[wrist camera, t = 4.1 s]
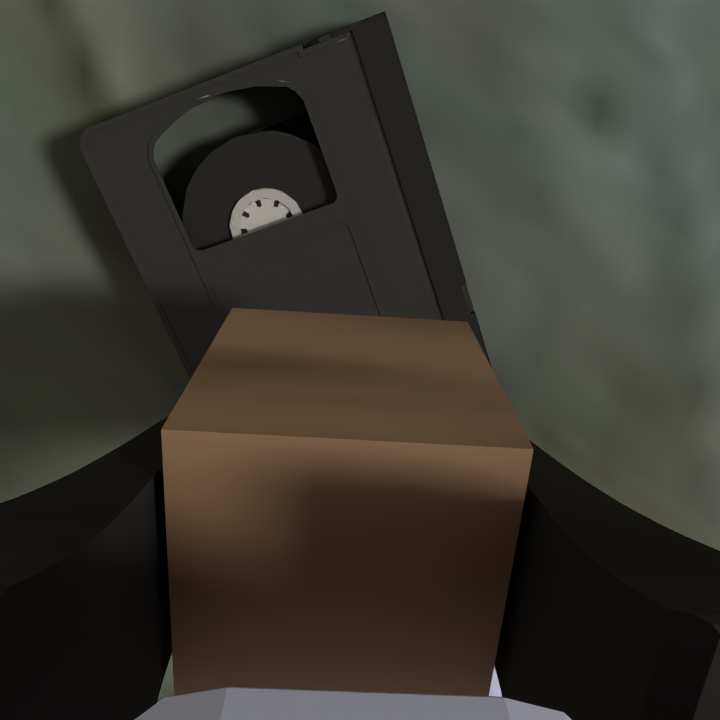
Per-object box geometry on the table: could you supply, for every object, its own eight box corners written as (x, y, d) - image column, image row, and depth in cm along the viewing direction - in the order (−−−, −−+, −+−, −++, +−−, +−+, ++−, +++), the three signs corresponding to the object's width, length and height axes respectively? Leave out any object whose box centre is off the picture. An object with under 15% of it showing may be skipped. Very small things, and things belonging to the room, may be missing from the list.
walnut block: (442, 518, 14) (485, 719, 10) (233, 508, 14) (174, 707, 10) (467, 321, 13) (533, 448, 8) (232, 307, 13) (160, 429, 8)
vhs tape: (100, 130, 18) (71, 133, 16) (381, 20, 17) (384, 11, 15) (295, 546, 23) (290, 586, 21) (519, 478, 22) (535, 514, 20)
